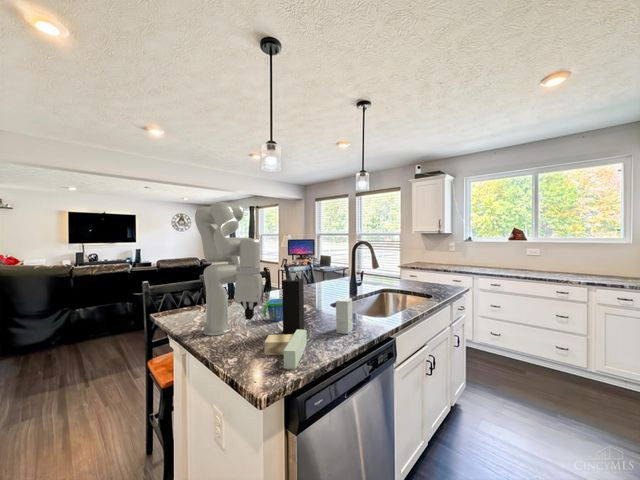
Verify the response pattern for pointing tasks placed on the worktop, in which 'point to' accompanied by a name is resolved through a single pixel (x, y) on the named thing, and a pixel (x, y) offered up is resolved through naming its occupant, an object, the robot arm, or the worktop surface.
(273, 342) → the maple block
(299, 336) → the board
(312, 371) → the worktop surface
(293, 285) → the tall black block
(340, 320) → the skincare box
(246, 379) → the worktop surface
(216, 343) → the worktop surface
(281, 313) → the snack cup
